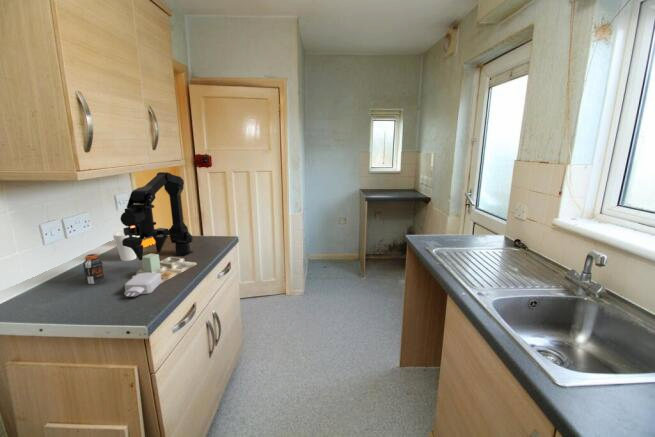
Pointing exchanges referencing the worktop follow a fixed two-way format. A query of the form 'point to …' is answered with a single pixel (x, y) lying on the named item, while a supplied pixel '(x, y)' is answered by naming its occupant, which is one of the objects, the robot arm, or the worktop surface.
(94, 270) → the pill bottle
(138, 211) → the robot arm
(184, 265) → the socket board
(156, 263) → the plug
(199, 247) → the worktop surface
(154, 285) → the charger
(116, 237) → the foam cup
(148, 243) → the orange juice
